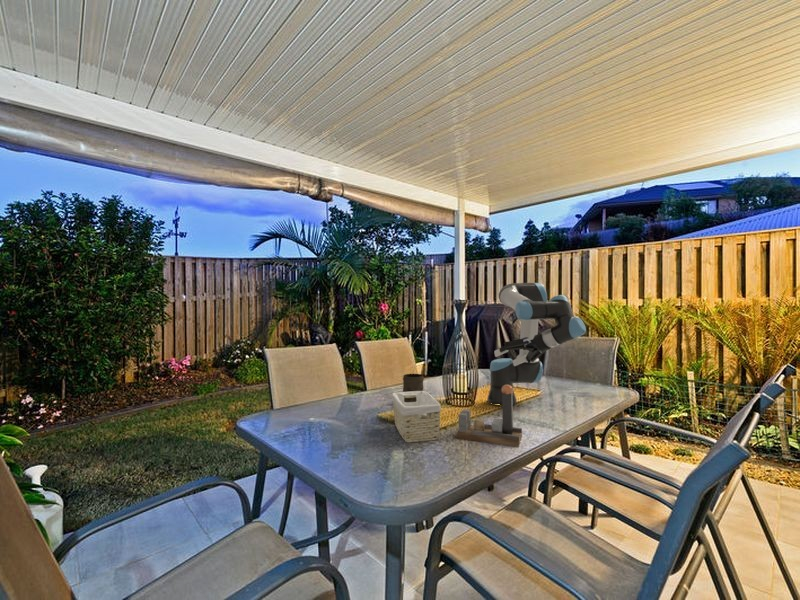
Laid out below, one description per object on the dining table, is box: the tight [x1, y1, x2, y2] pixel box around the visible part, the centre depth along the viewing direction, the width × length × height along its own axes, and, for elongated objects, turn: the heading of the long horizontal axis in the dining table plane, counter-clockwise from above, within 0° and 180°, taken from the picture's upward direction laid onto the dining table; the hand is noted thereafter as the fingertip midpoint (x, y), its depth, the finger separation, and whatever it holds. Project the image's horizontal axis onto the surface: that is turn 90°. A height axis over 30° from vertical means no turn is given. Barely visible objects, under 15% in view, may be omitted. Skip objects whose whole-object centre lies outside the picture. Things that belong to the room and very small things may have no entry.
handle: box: [491, 385, 514, 435], centre depth 147 cm, size 7×8×19 cm
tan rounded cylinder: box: [473, 419, 485, 431], centre depth 151 cm, size 4×4×4 cm
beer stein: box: [402, 373, 425, 402], centre depth 181 cm, size 15×11×20 cm
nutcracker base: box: [455, 408, 523, 447], centre depth 149 cm, size 12×24×9 cm, turn 66°
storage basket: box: [391, 390, 442, 443], centre depth 156 cm, size 24×16×15 cm
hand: (504, 358), depth 166 cm, fingers open, 13 cm apart
